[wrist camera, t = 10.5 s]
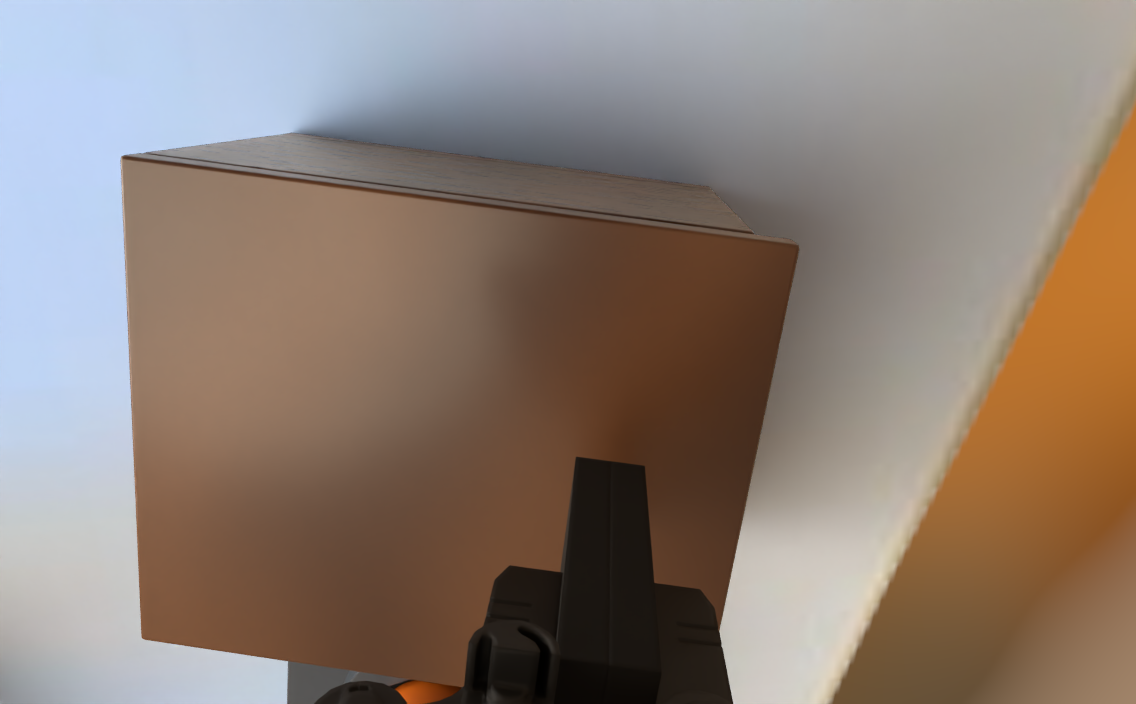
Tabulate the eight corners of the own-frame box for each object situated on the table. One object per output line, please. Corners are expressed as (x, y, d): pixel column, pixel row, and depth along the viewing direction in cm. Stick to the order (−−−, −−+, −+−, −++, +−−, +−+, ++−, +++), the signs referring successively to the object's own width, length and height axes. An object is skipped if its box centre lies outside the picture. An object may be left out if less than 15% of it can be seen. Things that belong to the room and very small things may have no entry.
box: (710, 186, 28) (756, 232, 19) (652, 521, 32) (668, 691, 23) (290, 132, 28) (139, 152, 19) (285, 472, 32) (157, 621, 23)
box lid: (794, 238, 19) (801, 245, 18) (697, 703, 22) (700, 724, 22) (138, 152, 19) (118, 155, 18) (156, 622, 23) (139, 640, 22)
